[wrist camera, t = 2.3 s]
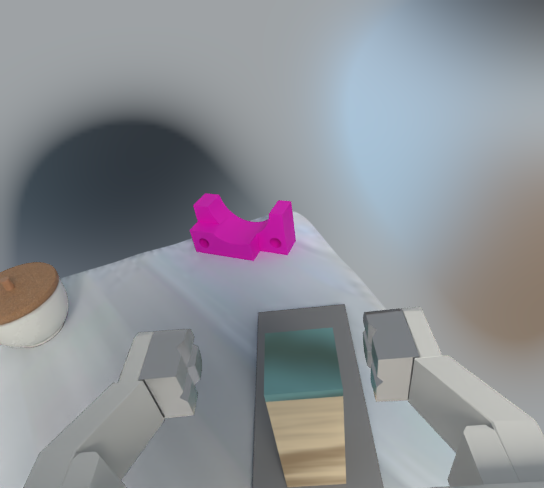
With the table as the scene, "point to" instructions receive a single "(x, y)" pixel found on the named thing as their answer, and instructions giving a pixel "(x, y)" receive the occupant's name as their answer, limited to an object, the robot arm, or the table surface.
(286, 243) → the toy block
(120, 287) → the table surface
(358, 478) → the mat
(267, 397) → the tall block
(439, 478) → the table surface
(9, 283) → the lidded jar
